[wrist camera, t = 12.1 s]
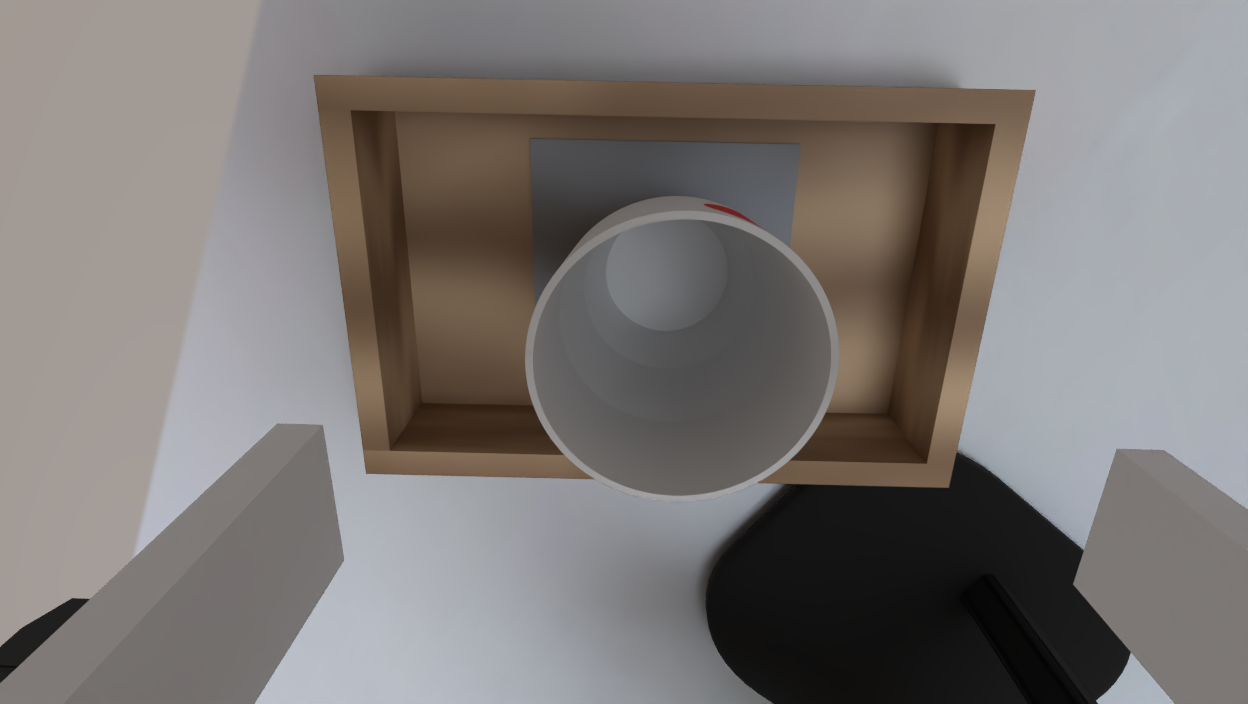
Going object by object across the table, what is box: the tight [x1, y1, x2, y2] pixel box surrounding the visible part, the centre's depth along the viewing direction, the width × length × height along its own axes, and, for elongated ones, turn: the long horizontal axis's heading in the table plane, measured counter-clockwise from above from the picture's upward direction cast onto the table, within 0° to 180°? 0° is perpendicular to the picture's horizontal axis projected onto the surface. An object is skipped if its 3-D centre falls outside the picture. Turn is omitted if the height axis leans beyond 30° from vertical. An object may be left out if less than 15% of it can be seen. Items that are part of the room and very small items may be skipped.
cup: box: [525, 196, 839, 502], centre depth 22 cm, size 8×8×10 cm
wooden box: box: [314, 75, 1036, 488], centre depth 26 cm, size 14×22×5 cm, turn 89°
